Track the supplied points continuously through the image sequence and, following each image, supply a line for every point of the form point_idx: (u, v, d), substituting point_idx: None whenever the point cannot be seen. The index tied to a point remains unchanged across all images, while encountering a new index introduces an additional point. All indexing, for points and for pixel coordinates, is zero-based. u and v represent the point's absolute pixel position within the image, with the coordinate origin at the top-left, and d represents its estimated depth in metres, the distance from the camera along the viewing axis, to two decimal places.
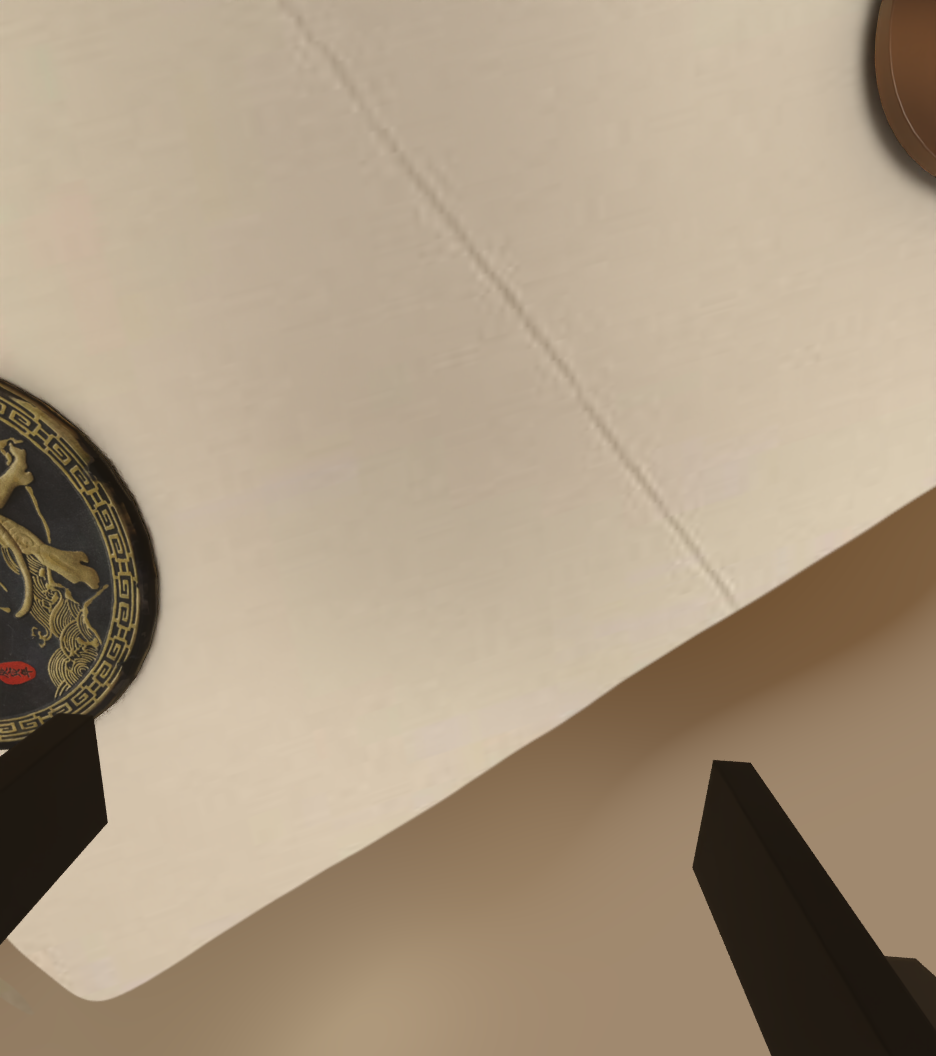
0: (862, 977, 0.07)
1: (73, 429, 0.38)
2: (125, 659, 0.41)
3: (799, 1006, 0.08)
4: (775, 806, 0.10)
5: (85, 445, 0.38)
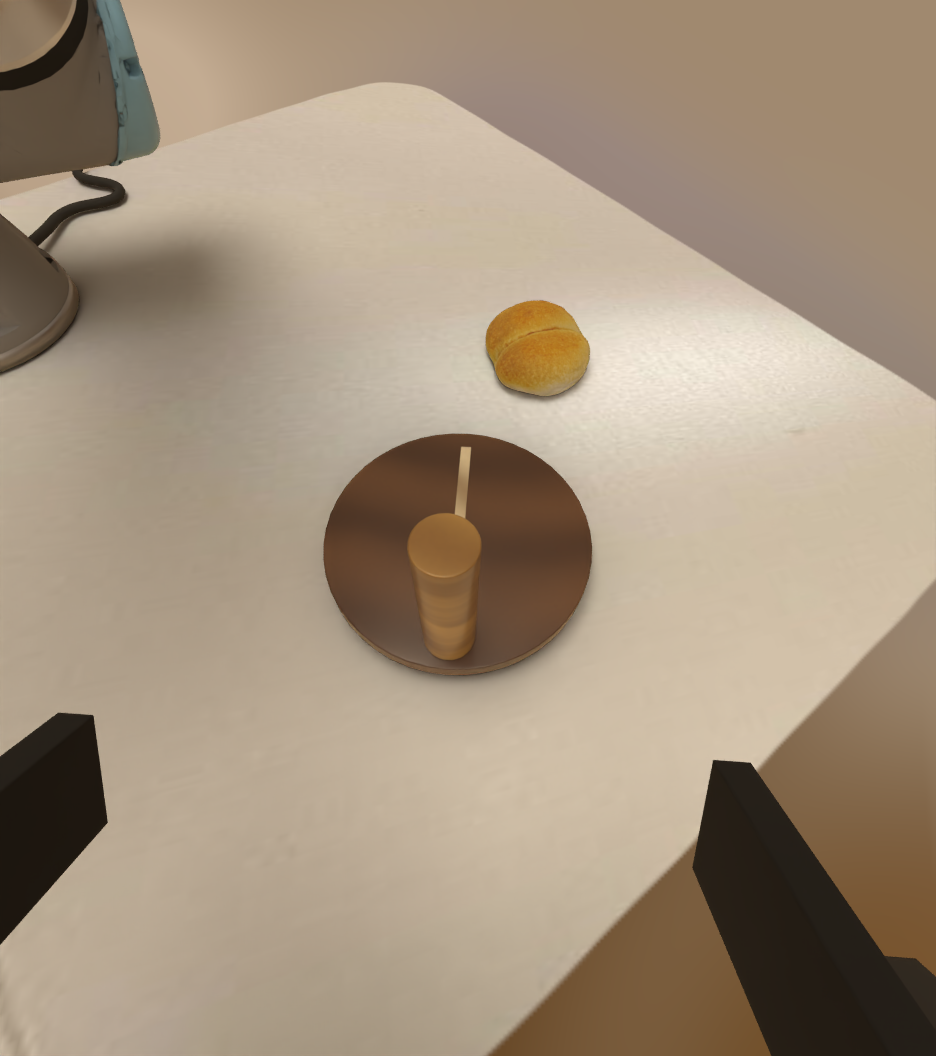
0: (862, 977, 0.07)
1: None
2: None
3: (799, 1005, 0.08)
4: (775, 806, 0.10)
5: None
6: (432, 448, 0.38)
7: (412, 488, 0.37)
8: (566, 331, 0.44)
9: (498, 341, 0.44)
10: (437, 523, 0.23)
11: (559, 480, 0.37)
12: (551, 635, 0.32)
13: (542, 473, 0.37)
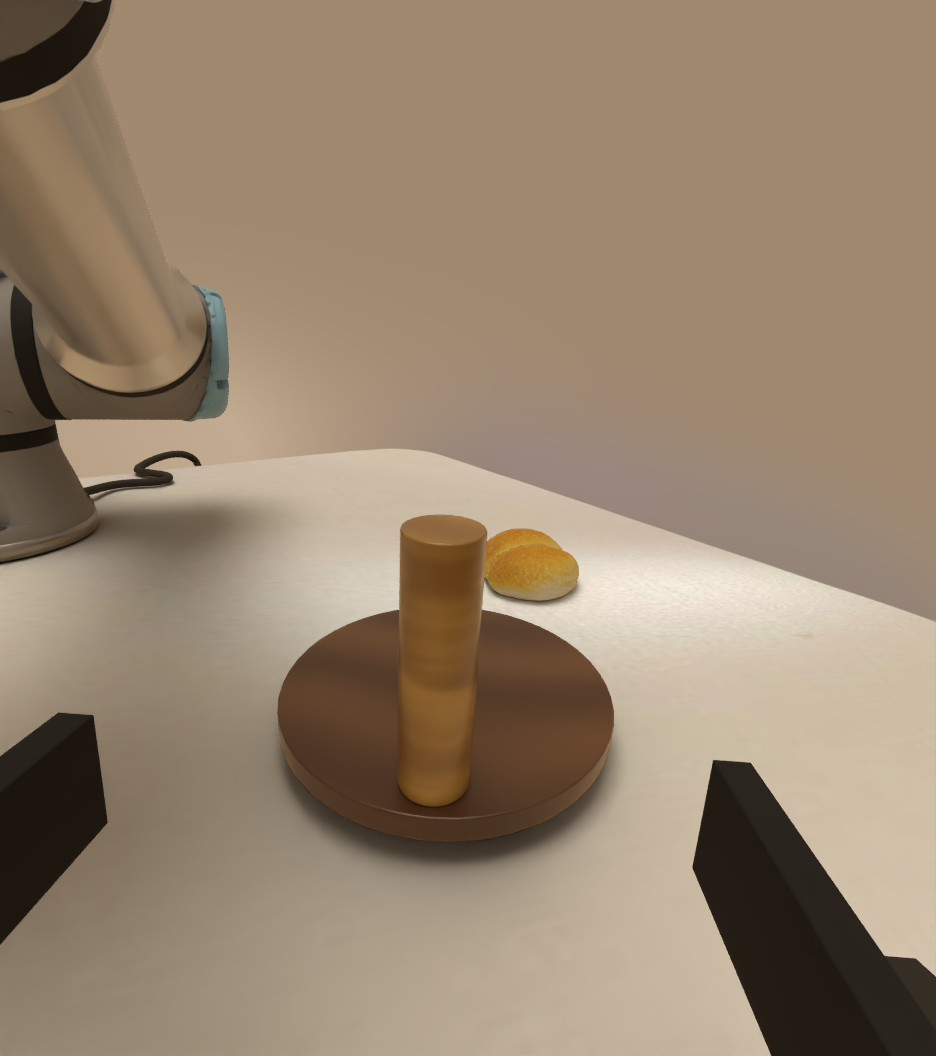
0: (862, 977, 0.07)
1: None
2: None
3: (799, 1005, 0.08)
4: (775, 806, 0.10)
5: None
6: None
7: (397, 642, 0.32)
8: (554, 547, 0.46)
9: (489, 555, 0.46)
10: (436, 518, 0.20)
11: (563, 643, 0.33)
12: (575, 783, 0.23)
13: (543, 637, 0.34)
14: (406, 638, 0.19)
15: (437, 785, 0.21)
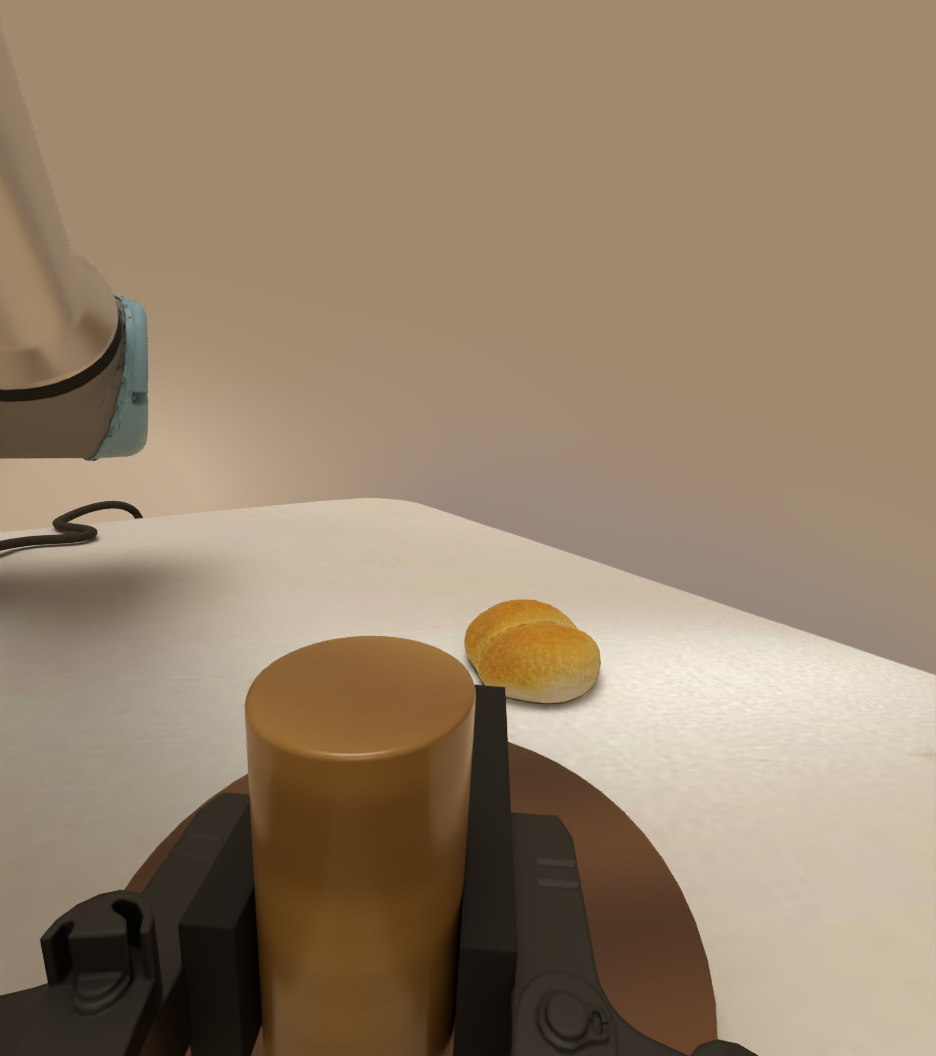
0: (481, 815, 0.09)
1: None
2: None
3: None
4: (502, 715, 0.12)
5: None
6: None
7: None
8: (567, 626, 0.34)
9: (480, 637, 0.34)
10: (354, 650, 0.08)
11: (597, 796, 0.21)
12: None
13: (565, 784, 0.21)
14: (266, 974, 0.07)
15: None
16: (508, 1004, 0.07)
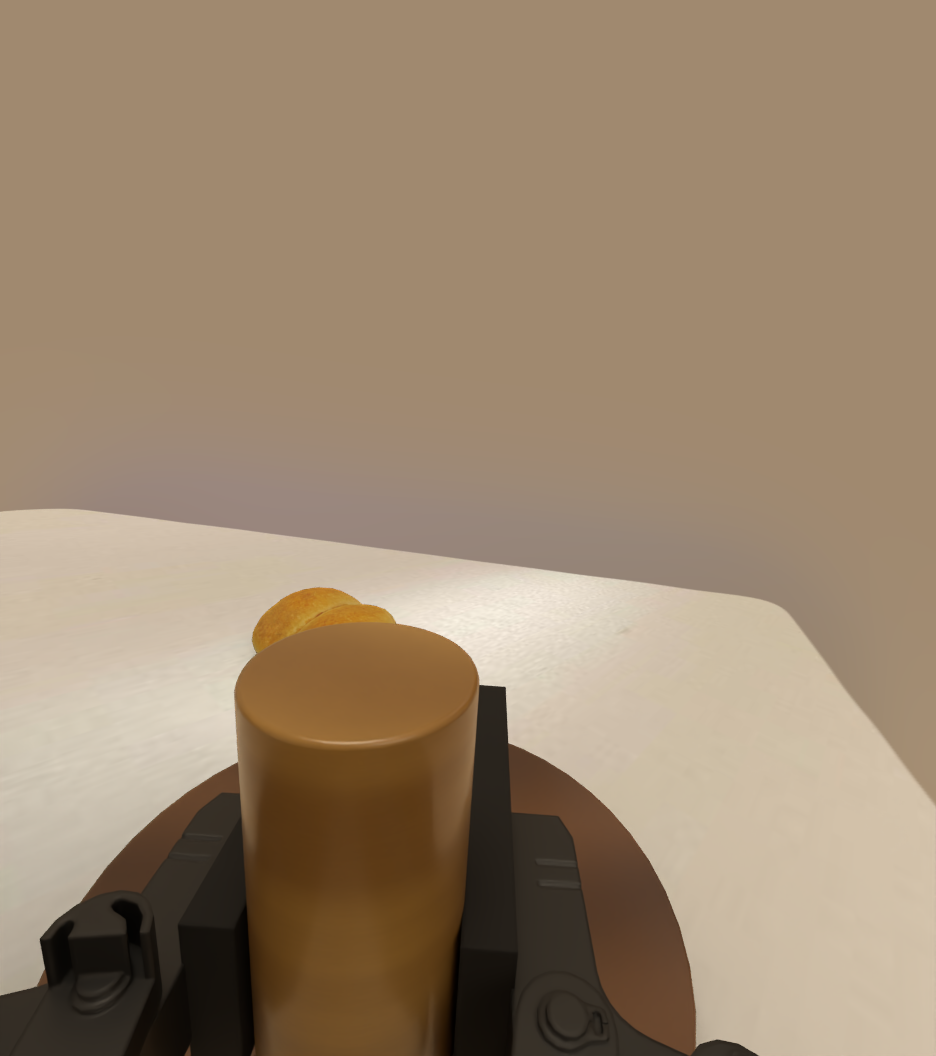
0: (481, 815, 0.09)
1: None
2: None
3: None
4: (502, 715, 0.12)
5: None
6: None
7: None
8: (360, 604, 0.35)
9: (277, 637, 0.32)
10: (343, 637, 0.08)
11: (564, 778, 0.21)
12: None
13: (532, 770, 0.22)
14: (263, 986, 0.07)
15: None
16: (508, 1004, 0.07)
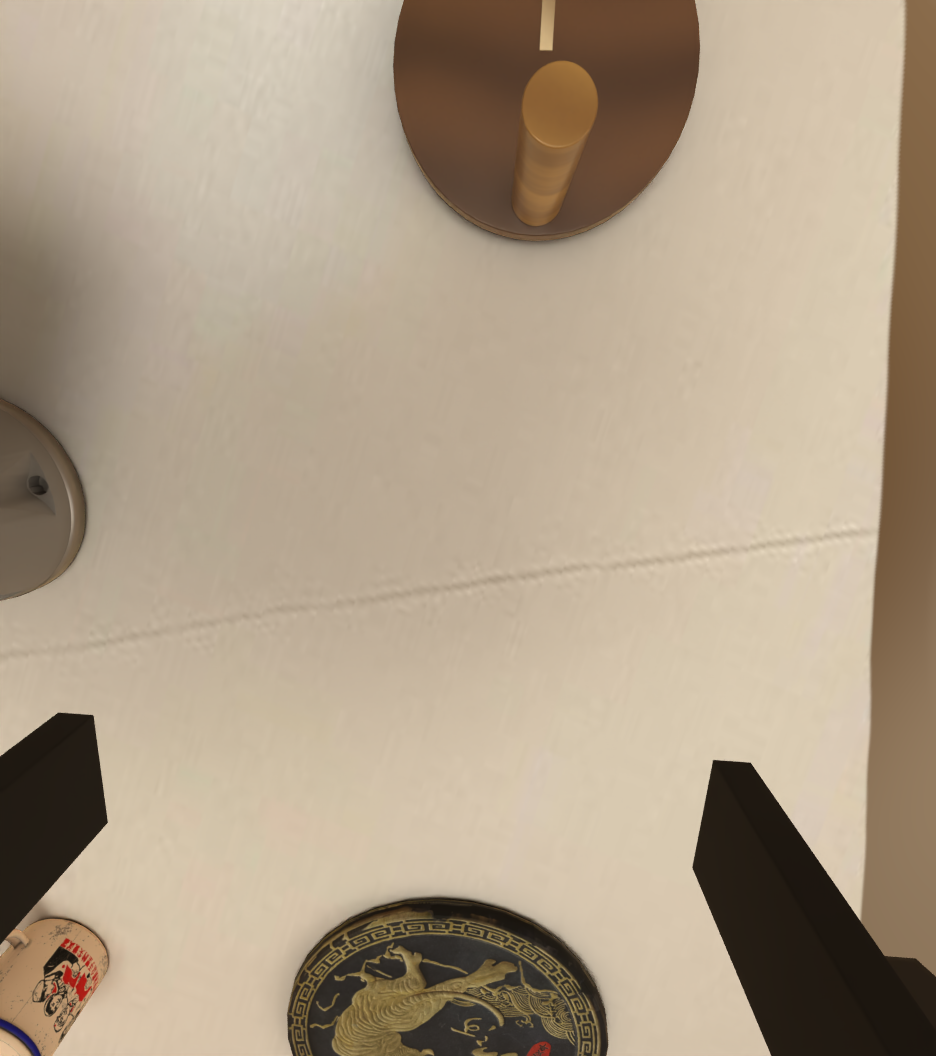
0: (862, 977, 0.07)
1: (404, 907, 0.48)
2: (579, 987, 0.48)
3: (799, 1006, 0.08)
4: (775, 806, 0.10)
5: (419, 907, 0.48)
6: None
7: None
8: None
9: None
10: (552, 76, 0.21)
11: None
12: (638, 193, 0.32)
13: None
14: (524, 170, 0.25)
15: (541, 220, 0.31)
16: None
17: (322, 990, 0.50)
